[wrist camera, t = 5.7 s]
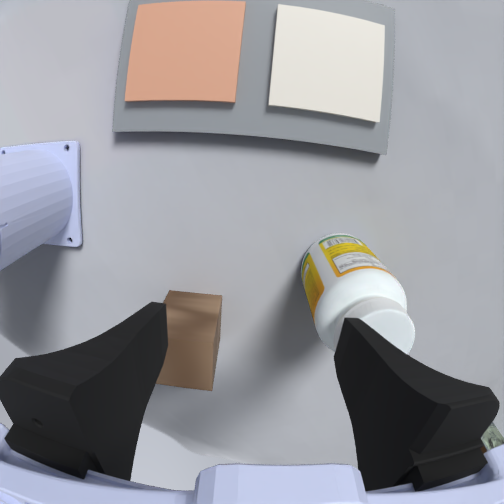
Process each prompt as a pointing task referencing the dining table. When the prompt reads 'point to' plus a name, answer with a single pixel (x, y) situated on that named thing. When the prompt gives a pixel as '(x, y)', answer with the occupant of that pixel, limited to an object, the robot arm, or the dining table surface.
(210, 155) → the dining table surface
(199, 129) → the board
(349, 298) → the supplement bottle
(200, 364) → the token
